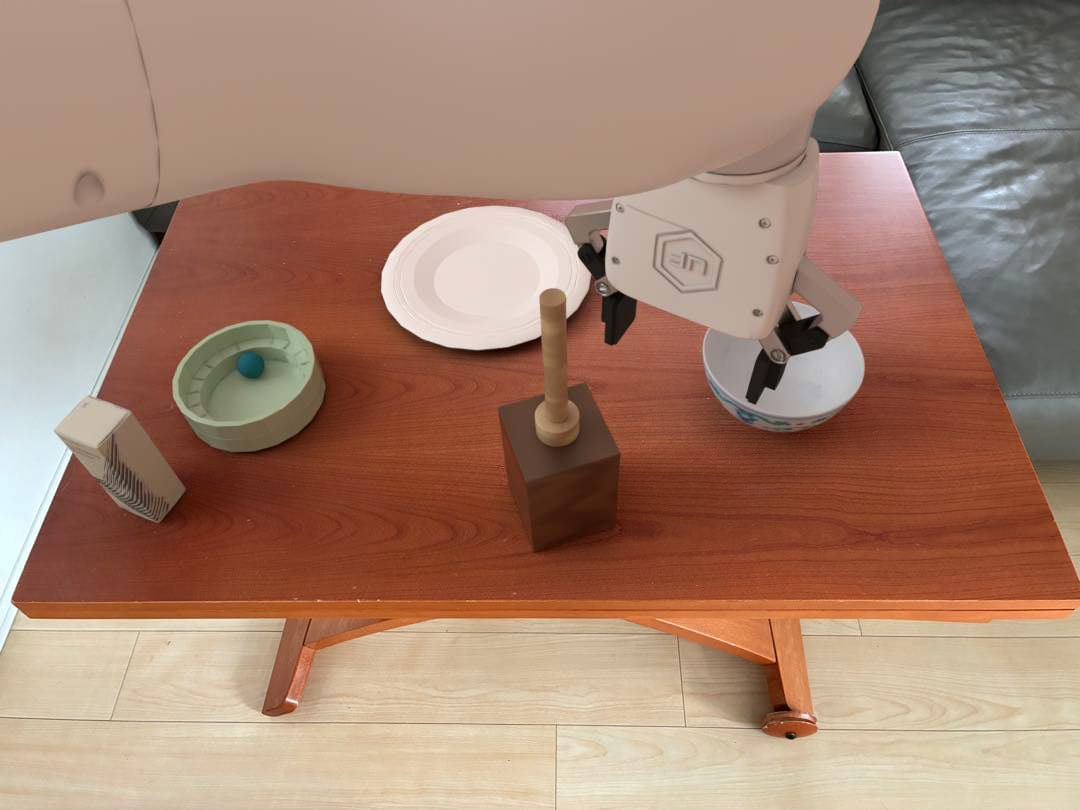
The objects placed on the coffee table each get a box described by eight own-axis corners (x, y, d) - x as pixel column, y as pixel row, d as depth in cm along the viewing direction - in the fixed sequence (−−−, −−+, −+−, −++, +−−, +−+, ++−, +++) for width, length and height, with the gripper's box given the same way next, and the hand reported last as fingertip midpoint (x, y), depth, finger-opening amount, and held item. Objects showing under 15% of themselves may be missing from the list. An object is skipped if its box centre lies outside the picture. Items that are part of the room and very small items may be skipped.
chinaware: (837, 480, 73) (861, 432, 67) (681, 445, 76) (690, 397, 70) (846, 365, 82) (868, 314, 76) (706, 338, 85) (716, 287, 79)
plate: (592, 360, 84) (592, 348, 82) (366, 360, 85) (363, 348, 84) (591, 215, 99) (591, 203, 98) (400, 217, 100) (397, 205, 99)
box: (118, 508, 74) (46, 430, 64) (149, 473, 77) (84, 392, 67) (162, 526, 73) (95, 448, 63) (191, 489, 75) (131, 409, 65)
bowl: (195, 472, 77) (174, 443, 73) (189, 371, 85) (170, 340, 81) (336, 432, 79) (323, 402, 75) (316, 338, 88) (304, 306, 84)
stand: (533, 553, 70) (526, 482, 60) (507, 482, 74) (497, 406, 65) (615, 526, 71) (621, 453, 62) (585, 459, 76) (586, 381, 66)
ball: (243, 386, 83) (234, 369, 80) (241, 367, 84) (231, 350, 82) (269, 379, 83) (260, 362, 81) (266, 361, 85) (258, 344, 83)
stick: (543, 452, 62) (535, 321, 50) (530, 419, 64) (519, 286, 52) (585, 439, 62) (587, 308, 51) (570, 407, 65) (568, 273, 53)
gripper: (529, 102, 37) (540, 347, 50) (897, 212, 31) (798, 456, 44) (604, 35, 41) (596, 278, 54) (943, 121, 35) (839, 371, 48)
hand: (687, 358), depth 49 cm, fingers open, 9 cm apart
